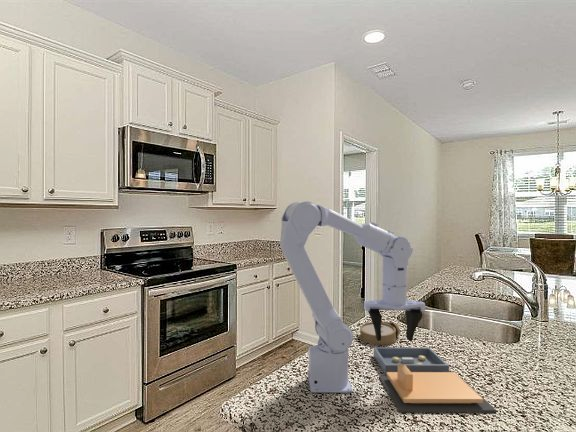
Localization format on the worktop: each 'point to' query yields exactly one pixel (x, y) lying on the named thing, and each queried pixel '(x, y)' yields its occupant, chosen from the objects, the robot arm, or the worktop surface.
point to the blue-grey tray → (409, 359)
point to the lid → (431, 387)
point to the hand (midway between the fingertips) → (393, 339)
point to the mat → (434, 406)
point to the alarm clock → (387, 333)
